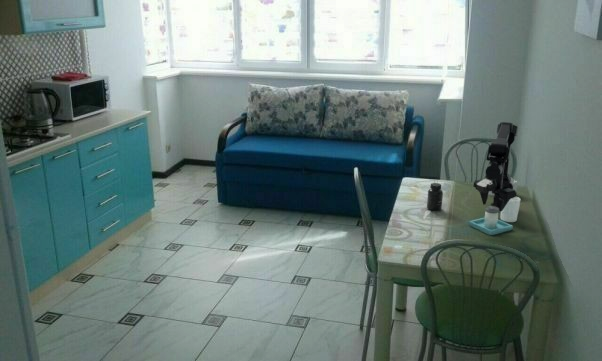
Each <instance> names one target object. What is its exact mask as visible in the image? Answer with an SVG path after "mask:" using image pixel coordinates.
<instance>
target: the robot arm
mask: <svg viewBox="0 0 602 361" xmlns="http://www.w3.org/2000/svg"><path fill="white" fill-rule="evenodd" d="M496 134H497V136H496V138H495V139H493V140H492V141H491V143H490V144H489V145H488V148H487V154H486V161H487V162H488V161H489V164H488V166H487V167H486V169H485V178H480V179H476V180H474V182H473V188H475V190H477V192H479V194H480V197H481V202H482V205H483V206H484V205H486V204H487V201H488V197H489V191H492V193H494V196H493V200H492V203H490V206H494V207H497V208H499V212H501V211H502V210H503V209H504V207H505V206H506V204H507V203H508V202H509V200H510V199H511V198H514V197H517V191H515V190H513V186H512V183H511V178H512V177H511V176H510V174H509V172H510V171H509V170H510V161H511V151H512V144H514V142H515V140H516V137H518V134H519V126H517V125H515V124H513V123H512V122H510V121H509V122H508V121H502V122H500V123H498V124H497V128H496Z"/></svg>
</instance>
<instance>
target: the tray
mask: <svg viewBox="0 0 602 361" xmlns="http://www.w3.org/2000/svg"><path fill="white" fill-rule="evenodd" d="M484 221H485V217H481V218H477V219H472V220H469V221H468V226H470V227H471V228H474V229H476V230H478V231H480V232H482V233H484V234H487V235H489V236H494V235H498V234H502V233H505V232H509V231H512V230H513V229H514V228H513V227H514V226H513V225H512V224H509V222H506V221H503V220H501V219H498V221H497V228H494V229H490V228H486V227H484Z"/></svg>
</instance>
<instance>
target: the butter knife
mask: <svg viewBox="0 0 602 361" xmlns="http://www.w3.org/2000/svg"><path fill="white" fill-rule="evenodd" d="M431 213H432V210H425V211H424V215H423V217H422V220H426V218H427V217H428V216H429V215H430V214H431Z"/></svg>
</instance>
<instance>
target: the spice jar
mask: <svg viewBox="0 0 602 361" xmlns="http://www.w3.org/2000/svg"><path fill="white" fill-rule="evenodd" d="M499 213H500V210H499V208H498V207H495V206H493V205H488V206H486V207H485V214H484V218H485V221H484V227H486V228H490V229H494V228H497V221H498V220H499V219H498V218H499Z"/></svg>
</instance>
